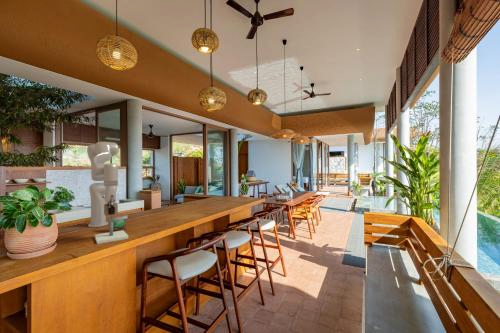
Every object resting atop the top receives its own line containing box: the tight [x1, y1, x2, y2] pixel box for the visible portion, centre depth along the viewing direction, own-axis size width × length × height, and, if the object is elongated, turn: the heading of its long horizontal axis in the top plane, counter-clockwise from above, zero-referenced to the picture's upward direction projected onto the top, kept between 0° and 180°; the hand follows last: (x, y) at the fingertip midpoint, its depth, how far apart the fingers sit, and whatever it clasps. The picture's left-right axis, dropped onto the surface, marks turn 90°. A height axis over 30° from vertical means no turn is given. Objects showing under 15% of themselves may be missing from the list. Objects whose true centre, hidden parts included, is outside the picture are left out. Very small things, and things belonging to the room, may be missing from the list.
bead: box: [104, 202, 119, 217], centre depth 142 cm, size 6×6×6 cm
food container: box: [107, 215, 129, 232], centre depth 157 cm, size 12×6×10 cm, turn 101°
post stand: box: [94, 222, 129, 245], centre depth 142 cm, size 16×16×10 cm
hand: (110, 212), depth 142 cm, fingers closed on bead, 6 cm apart
